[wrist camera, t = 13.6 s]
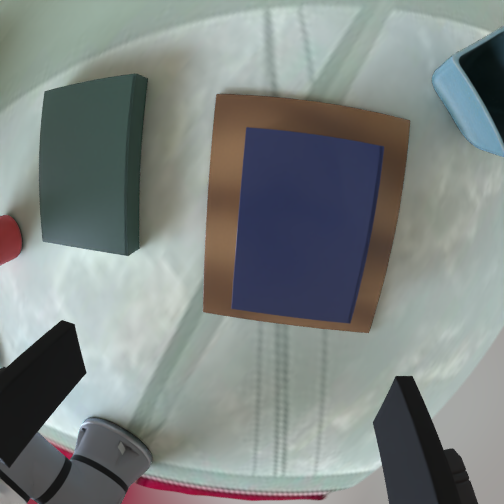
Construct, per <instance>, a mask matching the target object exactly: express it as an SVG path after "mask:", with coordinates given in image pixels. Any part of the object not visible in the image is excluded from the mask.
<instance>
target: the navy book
mask: <svg viewBox="0 0 504 504" xmlns="http://www.w3.org/2000/svg"><path fill="white" fill-rule="evenodd" d="M383 154H384V146H379V145H374V144H369V143H364V142H359V141H353V140H348V139H342V138H336V137H329V136H323V135H316V134H308V133H301V132H292V131H283V130H274V129H263V128H250V127H246V135H245V146H244V156H243V168H242V179H241V190H240V202H239V214H238V226H237V239H236V251H235V264H234V278H233V291H232V305H231V309H236V310H243V311H249V312H256V313H263V314H271V315H278V316H286V317H294V318H302V319H311V320H320V321H329V322H339V323H349V324H350V323H351V320H352V316H353V312H354V309H355V305H356V301H357V297H358V293H359V289H360V285H361V280H362V276H363V272H364V267H365V263H366V258H367V253H368V249H369V244H370V239H371V233H372V228H373V223H374V217H375V211H376V205H377V199H378V192H379V185H380V178H381V171H382V163H383Z"/></svg>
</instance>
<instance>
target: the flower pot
mask: <svg viewBox="0 0 504 504" xmlns="http://www.w3.org/2000/svg"><path fill="white" fill-rule="evenodd" d="M432 84H433V87H434V89H435V91H436V93H437V94H438V96H439V97H440V99H441V100H442V102H443V104H444V105H445V107H446V108H447V110H448V111H449V113H450V115H451V117H452V118H453V120H454V122H455V123H456V125H457V127H458V128H459V130H460V131H461V133H462V134H463V135H464V137H465V138H466V139H467V140H468V141H469V142H470V143H471V144H472V145H474V146H475V147H477V148H479V149H481V150H483V151H486V152H489V153H492V154H495V155H499V156H502V157H504V26H502V27H500V28H499V29H497V30H495V31H494V32H492V33H490V34H489V35H487V36H485V37H484V38H482V39H480V40H478V41H477V42H475V43H473V44H471V45H469V46H468V47H466V48H464V49H462V50H460V51H458V52H456V53H455V54H454V55H452V56H451V57H450V58H449V59H448V60H447V61H445V62H444V63H443V64H442V65H441V66H440V67H439V68H438V69H436V71H435V72H434V74H433V77H432Z"/></svg>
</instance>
